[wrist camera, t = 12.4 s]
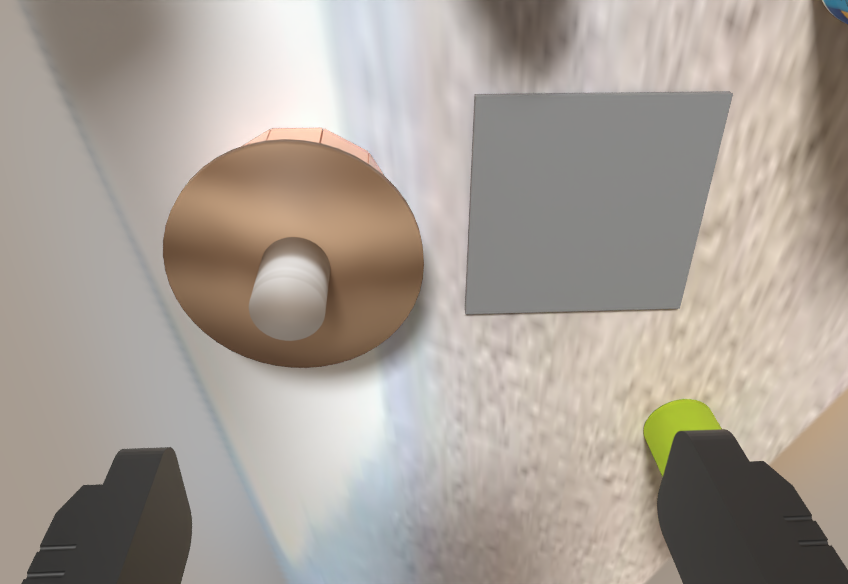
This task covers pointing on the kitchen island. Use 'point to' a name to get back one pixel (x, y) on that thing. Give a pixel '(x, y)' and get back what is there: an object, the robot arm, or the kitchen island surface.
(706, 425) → the soap dispenser
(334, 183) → the lid
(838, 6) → the beverage bottle
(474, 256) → the mat
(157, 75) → the kitchen island surface
